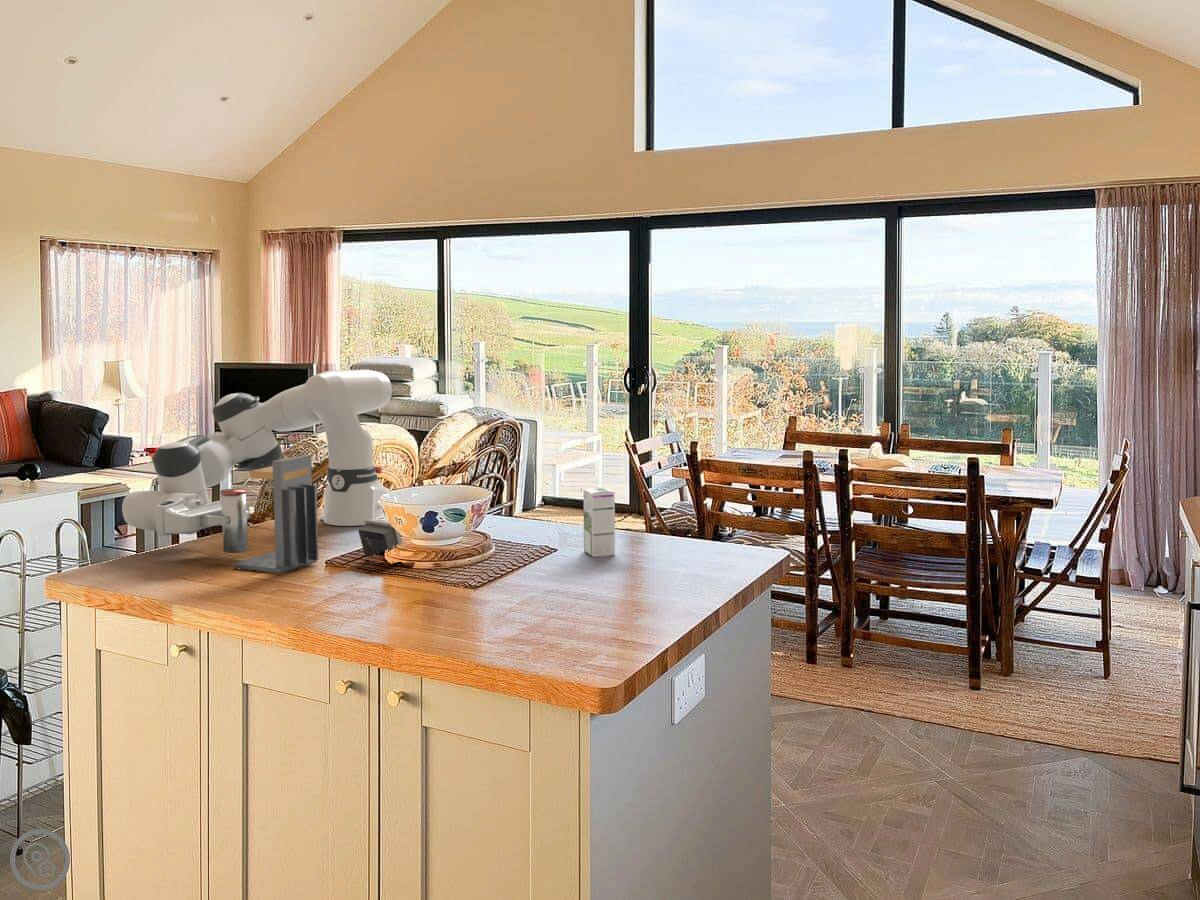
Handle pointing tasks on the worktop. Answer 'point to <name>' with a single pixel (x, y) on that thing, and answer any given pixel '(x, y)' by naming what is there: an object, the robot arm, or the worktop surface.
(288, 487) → the bracket
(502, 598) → the worktop surface
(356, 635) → the worktop surface
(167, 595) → the worktop surface
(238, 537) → the can
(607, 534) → the syrup box
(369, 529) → the electrical switch
